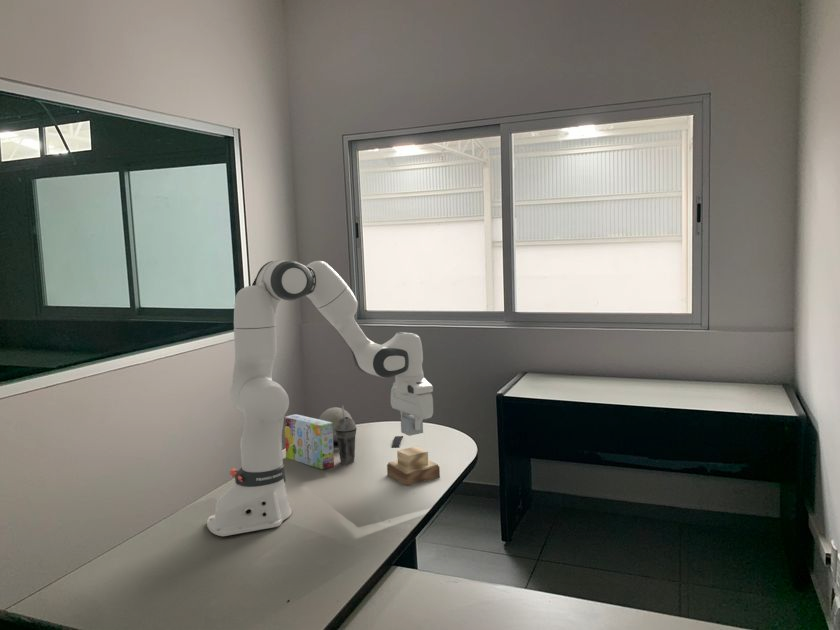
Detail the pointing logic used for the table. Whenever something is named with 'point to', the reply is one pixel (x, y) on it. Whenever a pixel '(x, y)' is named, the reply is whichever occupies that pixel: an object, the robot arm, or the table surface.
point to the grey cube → (409, 425)
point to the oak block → (412, 457)
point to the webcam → (334, 421)
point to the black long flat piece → (396, 442)
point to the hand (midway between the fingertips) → (411, 427)
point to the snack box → (309, 441)
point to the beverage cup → (346, 439)
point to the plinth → (413, 472)
